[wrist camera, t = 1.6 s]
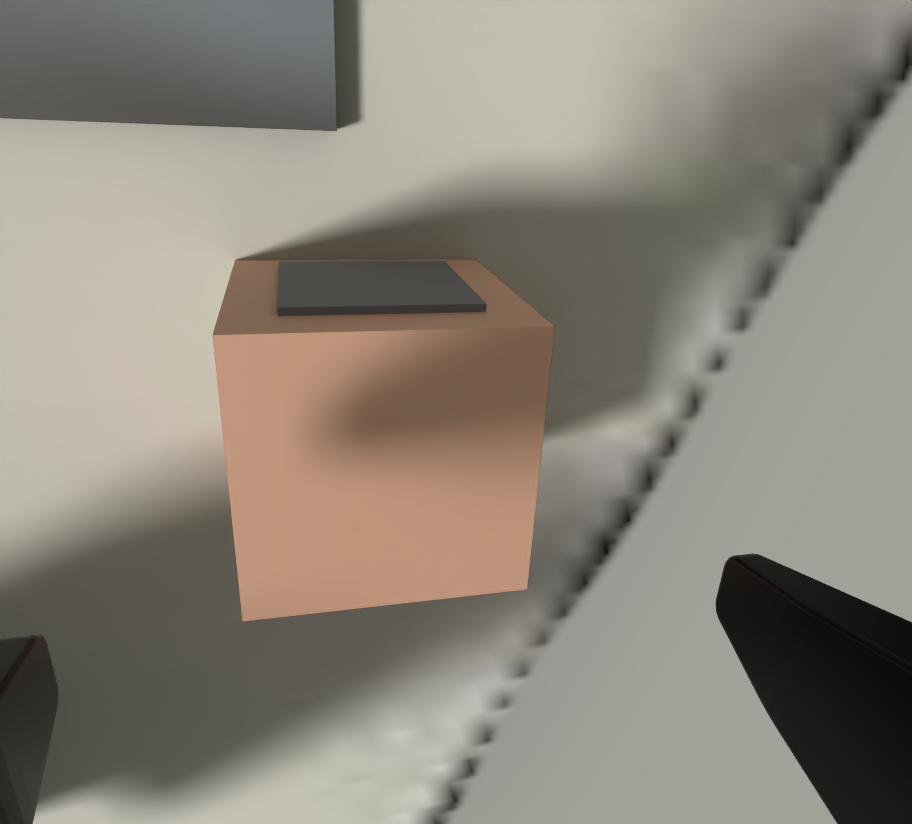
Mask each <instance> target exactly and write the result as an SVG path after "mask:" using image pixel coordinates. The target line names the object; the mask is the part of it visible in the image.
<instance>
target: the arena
mask: <svg viewBox="0 0 912 824" xmlns="http://www.w3.org/2000/svg"><path fill="white" fill-rule="evenodd" d="M0 118H11V119H37V120H63V121H89V122H115V123H141V124H167V125H193V126H219V127H245V128H271V129H297V130H323V131H337V121H336V80H335V38H334V0H0Z"/></svg>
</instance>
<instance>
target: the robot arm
mask: <svg viewBox="0 0 912 824" xmlns="http://www.w3.org/2000/svg"><path fill="white" fill-rule="evenodd" d="M716 612H717V615H718V618H719V621H720V623H721V624H722V626H723V628H724V630H725V632H726V634H727V636H728V638H729V640H730V642H731V644H732V646H733V648H734V650H735V652H736V654H737V656H738V658H739V659H740V662H741V664H742V665H743V667H744V669H745V671H746V673H747V675H748V677H749V679H750V681H751V683H752V685H753V687H754V689H755V691H756V693H757V695H758V697H759V698H760V700H761V702H762V704H763V706H764V708H765V709H766V711H767V713H768V715H769V716H770V718H771V720H772V721H773V723H774V725H775V726H776V728H777V729H778V731H779V733H780V734H781V736H782V738H783V739H784V740H785V742H786V743H787V745H788V747H789V748H790V750H791V752H792V753H793V755H794V756H795V758H796V759H797V761H798V763H799V764H800V766H801V767H802V769H803V770H804V772H805V773H806V775H807V777H808V778H809V780H810V781H811V783H812V785H813V786H814V788H815V789H816V791H817V792H818V794H819V795H820V797H821V799H822V800H823V802H824V803H825V805H826V807H827V808H828V810H829V811H830V813H831V814H832V816H833V818H834V819H835V821H836V822H837V824H912V622H910V621H907V620H905V619H903V618H901V617H898V616H896V615H894V614H892V613H889V612H887V611H885V610H883V609H880V608H878V607H876V606H874V605H871V604H869V603H867V602H865V601H862V600H860V599H858V598H856V597H853V596H851V595H849V594H846V593H844V592H842V591H840V590H838V589H835V588H833V587H831V586H828V585H826V584H824V583H822V582H820V581H817V580H815V579H813V578H811V577H808V576H806V575H804V574H801V573H799V572H797V571H795V570H793V569H790V568H788V567H786V566H783V565H781V564H779V563H777V562H774V561H772V560H770V559H767V558H765V557H763V556H761V555H758V554H747V555H736V556H732V557H730V558H729V559H728V560H727V561H726V563H725V565H724V569H723V573H722V578H721V582H720V586H719V590H718V594H717V598H716ZM57 705H58V686H57V681H56V677H55V673H54V669H53V665H52V662H51V658H50V654H49V650H48V646H47V643H46V640H45V639H44V637H43V636H42V635H39V634H26V635H17V636H8V637H4V638H2V639H0V824H33V820H34V815H35V811H36V806H37V801H38V796H39V791H40V787H41V782H42V777H43V772H44V768H45V763H46V758H47V753H48V749H49V744H50V739H51V734H52V730H53V725H54V720H55V715H56V710H57Z"/></svg>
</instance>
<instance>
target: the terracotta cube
mask: <svg viewBox="0 0 912 824" xmlns="http://www.w3.org/2000/svg"><path fill="white" fill-rule="evenodd" d="M554 330H555V326H554V325H553V324H551V323H550V322H549V321H548V320H547V319H545V318H544V317H543V316H542V315H541V314H540V313H538V312H537V311H536V310H535V309H534V308H532V307H531V306H530V305H529V304H528V303H527V302H525V301H524V300H523V299H522V298H521V297H520V296H518V295H517V294H516V293H515V292H514V291H512V290H511V289H510V288H509V287H508V286H507V285H505V284H504V283H503V282H502V281H501V280H500V279H498V278H497V277H496V276H495V275H494V274H492V273H491V272H490V271H489V270H488V269H487V268H485V267H484V266H483V265H482V264H481V263H480V262H478V261H477V260H476V259H442V260H235V263H234V266H233V269H232V272H231V276H230V279H229V282H228V286H227V289H226V292H225V296H224V299H223V302H222V306H221V309H220V312H219V315H218V319H217V322H216V325H215V329H214V332H213V344H214V354H215V364H216V373H217V383H218V392H219V402H220V411H221V421H222V431H223V440H224V450H225V459H226V469H227V478H228V488H229V498H230V507H231V517H232V526H233V536H234V545H235V555H236V565H237V574H238V584H239V593H240V603H241V612H242V622H243V621H252V620H261V619H270V618H278V617H287V616H296V615H305V614H314V613H323V612H332V611H340V610H349V609H358V608H367V607H376V606H385V605H394V604H402V603H411V602H420V601H429V600H438V599H447V598H456V597H464V596H473V595H482V594H491V593H500V592H509V591H518V590H526V589H527V585H528V576H529V566H530V557H531V547H532V538H533V528H534V519H535V509H536V500H537V490H538V481H539V472H540V462H541V453H542V443H543V434H544V424H545V415H546V405H547V396H548V386H549V377H550V368H551V358H552V349H553V339H554Z"/></svg>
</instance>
